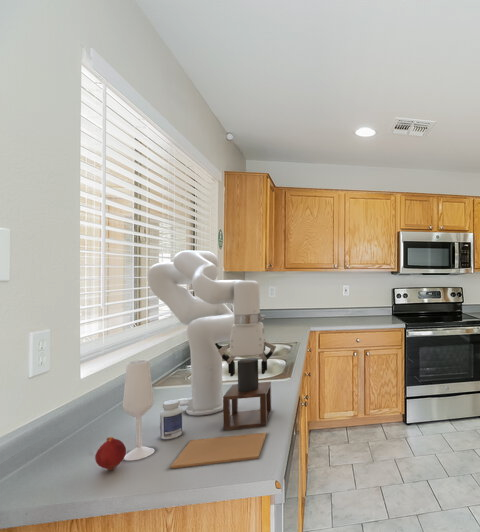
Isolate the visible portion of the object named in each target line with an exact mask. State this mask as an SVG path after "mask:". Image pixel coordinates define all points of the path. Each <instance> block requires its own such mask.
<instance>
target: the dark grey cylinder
mask: <svg viewBox="0 0 480 532" xmlns="http://www.w3.org/2000/svg"><path fill="white" fill-rule="evenodd" d="M258 383H259V359H258V358H256V357H247V358H242V359H238V360H237V384H238V391H240V392H248V391H253V390H256V389H258Z"/></svg>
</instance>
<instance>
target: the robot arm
mask: <svg viewBox="0 0 480 532" xmlns="http://www.w3.org/2000/svg"><path fill="white" fill-rule="evenodd" d="M218 267H219V259H218V257H217V255H216V254H215V253H213V252H212V251H208V250H192V249H191V250H182V251H179V252H178V253H176V254H175V255H174V257H173V260H172V261H163V262H158V263H154V264H153V265H151V266H150V267H149V268H148V270H147V276H146V277H147V283H148V286H149V288H150V290H151V291H152V293H153V295H155V296H156V298H158V299H159V300H160V301H161V302H163V304H165V305H166V306H167V308H168V309H169V310H170V312H172V314H173V315H174V316H175V317H176V318H177V320H178V321H179V322H180V323H181V324H182V325H184V326H187V328H186V336H187V341H188V345H189V352H190V387H191V389H190V390H191V393H190V394H191V396H189V397H188V398H178V400H179V407H185V406H187V407H186V410H185V411H186V414H187V415H189V416H196V417H197V416H207V415H212V414H216V413H219V412H221V411H223V396H224V394H223V391H224V390H223V361H225V362H226V363H227V365H228V366H227V367H228V368H227V370H228V374H229V376H230V377H234V376H235V374H236V362H235V359H236V358H238V357H255V356H258V357H260V358H261V363H260V365H261V368H260V369H261V375H264V374H265V373H266V371H268V360H269V358H271V356H272V355H273V354H274V352H275V350H276V349H277V346H276V345H275V344H273V343H271V342H269V341H267V340H266V334H265V328H264V323H263V322H261V321H262V320H265V317H266V315H265V314H261V305H260V304H261V302H260V283H259V282H258V280H249V279H248V280H245V279H244V280H243V279H219V280H218V279H217V278H218V276H219V270H218ZM181 285H191V288H192V291H193V293H194V294H192V293H191V292H190V291H189V290H188V289H187V288H186V287H183V286H181ZM194 295H195V296H194ZM227 304H233V311H232V310H231V308H229V306H228V305H227ZM228 341H229V343H227V344H226V345H224V346H223V347H221V348H218V347H217V345H216V344H219V343H223V342H228ZM266 347H267V348H268V349H270V350H269V352H267V353H266V352H265V351H266ZM227 350H229V354H228V353H226V351H227ZM229 355H230V356H229Z"/></svg>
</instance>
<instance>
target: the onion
mask: <svg viewBox="0 0 480 532" xmlns="http://www.w3.org/2000/svg"><path fill="white" fill-rule="evenodd" d="M126 454H127V448H126V445H125V443H124V442H123V441H121V440H120V439H117V438H115V437H113V436H109V437H107V438H106V441H105V442H103V443H102V444H101V445H100V446H99V448H98V449H97V451H96V453H95V456H94V459H95V460H94V461H95V463H96V464H97V465H98V467H100V468H102V469H106V470H107V471H113V470H114V469H115V468H116V467H118V466H119V465H120V464H121V463H122V462H123V460H124V457H125V455H126Z"/></svg>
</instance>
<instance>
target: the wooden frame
mask: <svg viewBox="0 0 480 532" xmlns="http://www.w3.org/2000/svg"><path fill="white" fill-rule="evenodd" d="M251 398H253V399H254V398H259V409H252V410H241V411H239V400H240V399H251ZM271 413H272V382H271V381H263V382H258V389H256V390H253V391H248V392H240V391H238V383H236V384H235V383H234V384H232V385H231V386H230V387H229V389H228V390H227V391H226V392H225V394H223V410H222V415H223V416H222V417H223V419H222V421H223V422H222V423H223V431H230V430H243V429H251V428H252V429H253V428H261V427H262V428H263V427H267V424H268V422H269V419H270V416H271Z"/></svg>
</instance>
